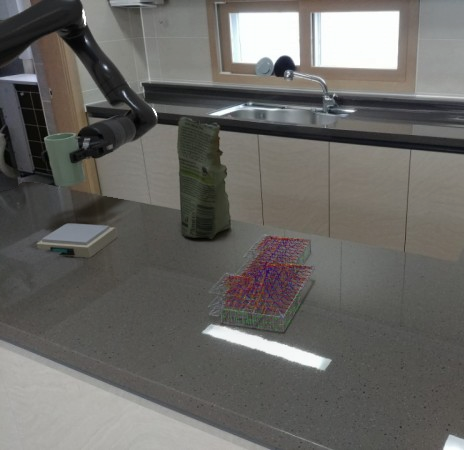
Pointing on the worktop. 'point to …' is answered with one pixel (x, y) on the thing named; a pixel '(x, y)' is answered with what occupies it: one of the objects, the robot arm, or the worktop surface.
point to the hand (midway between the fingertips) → (57, 158)
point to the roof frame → (254, 265)
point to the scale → (78, 239)
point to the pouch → (201, 180)
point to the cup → (64, 159)
